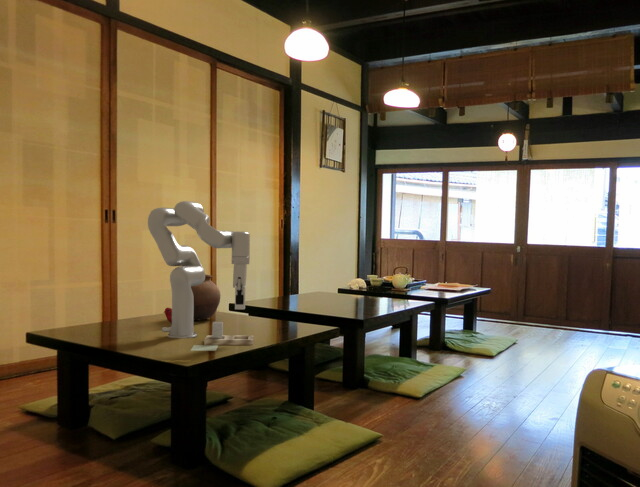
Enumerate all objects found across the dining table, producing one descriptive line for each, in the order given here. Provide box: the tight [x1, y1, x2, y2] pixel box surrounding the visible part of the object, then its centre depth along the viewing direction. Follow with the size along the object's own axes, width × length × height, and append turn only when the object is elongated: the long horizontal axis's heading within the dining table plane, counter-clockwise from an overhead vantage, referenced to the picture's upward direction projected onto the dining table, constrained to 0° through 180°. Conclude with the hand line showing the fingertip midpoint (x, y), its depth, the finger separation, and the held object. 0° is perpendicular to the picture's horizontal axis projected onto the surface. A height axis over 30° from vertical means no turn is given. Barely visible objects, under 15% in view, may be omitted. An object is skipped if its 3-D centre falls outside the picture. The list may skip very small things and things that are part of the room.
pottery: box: [191, 273, 221, 321], centre depth 289 cm, size 23×23×25 cm
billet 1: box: [211, 321, 224, 339], centre depth 230 cm, size 4×4×9 cm
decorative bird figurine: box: [163, 307, 172, 324], centre depth 269 cm, size 3×18×10 cm, turn 139°
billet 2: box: [234, 286, 246, 310], centre depth 230 cm, size 4×4×9 cm
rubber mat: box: [190, 344, 219, 352], centre depth 219 cm, size 10×10×1 cm
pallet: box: [203, 334, 254, 346], centre depth 231 cm, size 20×10×2 cm, turn 95°
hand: (240, 303), depth 230 cm, fingers closed on billet 2, 4 cm apart
